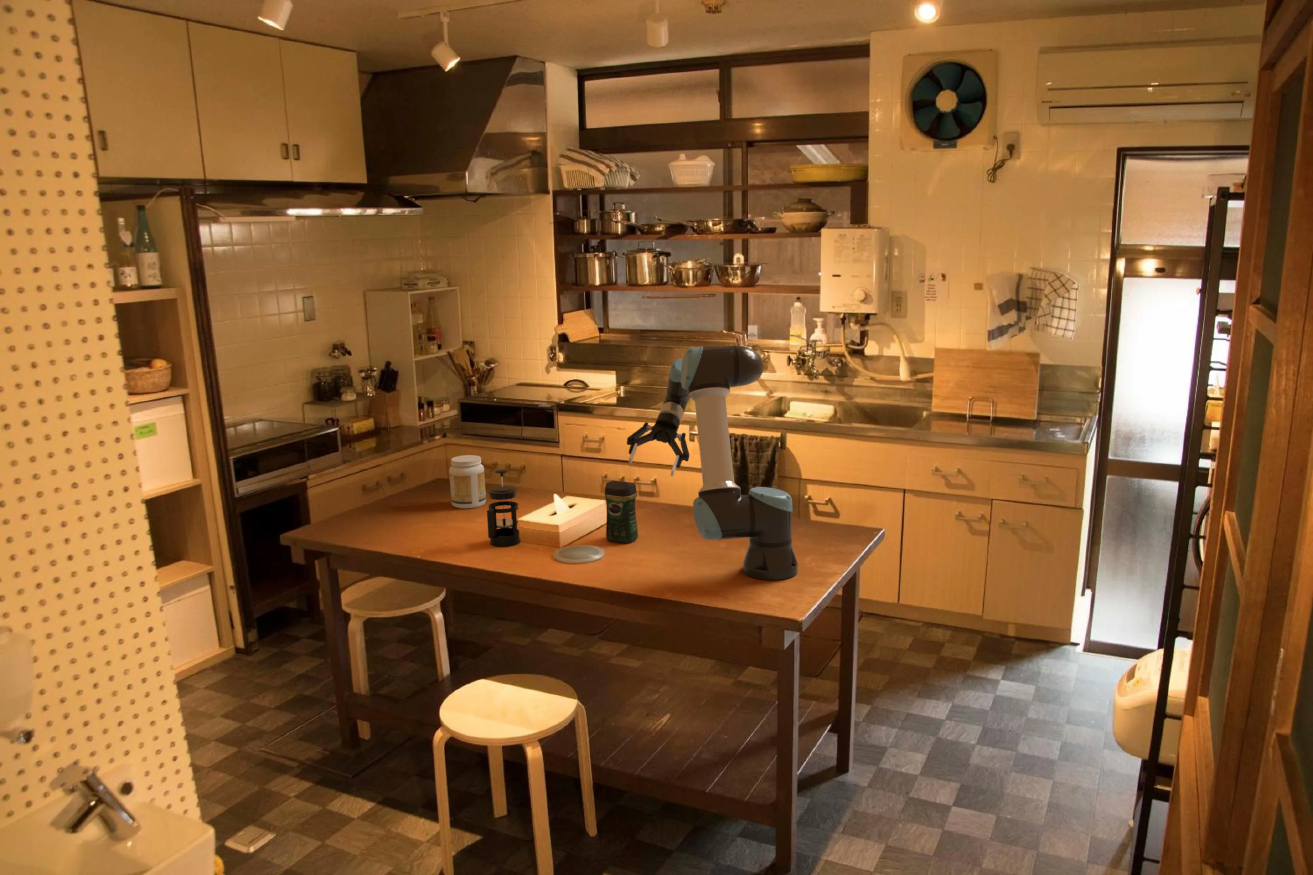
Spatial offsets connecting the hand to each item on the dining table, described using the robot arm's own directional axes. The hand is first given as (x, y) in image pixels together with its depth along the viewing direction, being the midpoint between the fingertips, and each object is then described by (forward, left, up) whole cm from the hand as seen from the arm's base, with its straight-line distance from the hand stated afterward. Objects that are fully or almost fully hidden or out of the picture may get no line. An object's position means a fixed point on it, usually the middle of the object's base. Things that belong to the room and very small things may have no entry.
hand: (650, 467), depth 293 cm
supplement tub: (+58, +50, -22) cm, 80 cm away
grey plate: (-10, +26, -22) cm, 35 cm away
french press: (+10, +45, -22) cm, 51 cm away
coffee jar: (0, +10, -22) cm, 24 cm away
